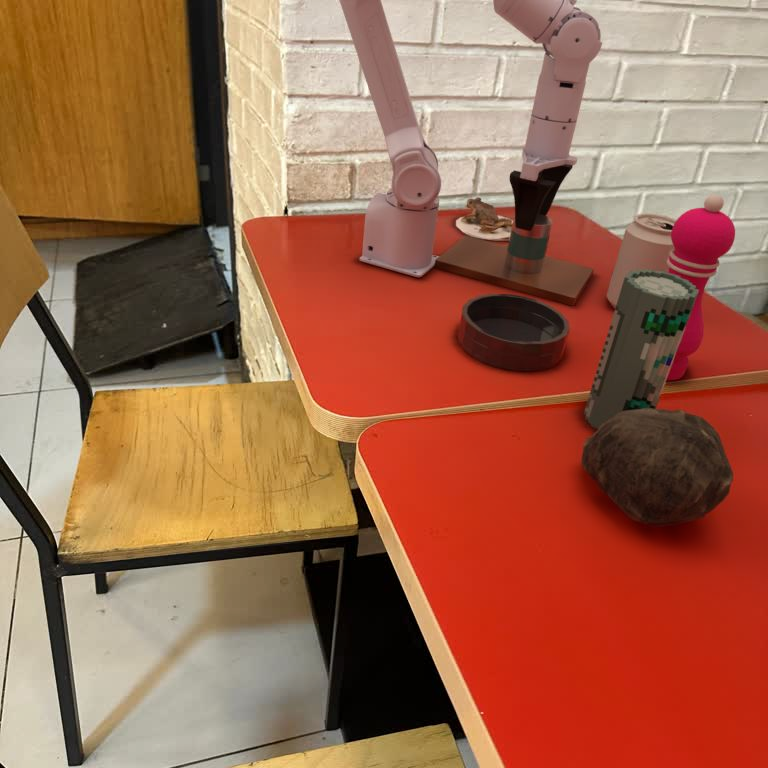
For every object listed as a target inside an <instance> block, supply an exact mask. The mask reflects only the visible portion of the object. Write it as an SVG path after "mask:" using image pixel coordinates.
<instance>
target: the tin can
mask: <svg viewBox="0 0 768 768" xmlns="http://www.w3.org/2000/svg"><path fill="white" fill-rule="evenodd" d="M553 222H554V221H553V219H552V218H550V217H549V216H548V215H546V216H545V215H542V214H538V216H537V219H536V222H535V224H534V226H533V228H532V230H531V231H527V230H523V229H519V228H516V226H515V214H514V216H513V225H512V228H511V233H510V238H509V240H508V243H507V246H508V248H507V255H506V260H505V265H506V266H507V267H508V268H510V269H511V270H514V271H517V272H521V273H538V272H540V271H541V270H542V265H543V261H544V257H545V256H546V255H547V249H548V244H549V241H550V236H551V231H552V226H553Z"/></svg>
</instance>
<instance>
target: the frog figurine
mask: <svg viewBox="0 0 768 768" xmlns="http://www.w3.org/2000/svg"><path fill="white" fill-rule="evenodd" d="M466 208H468V209H470V210H471V211H472V212H471V213H469V214H465V215H464V216H463V215H462V216H460V217H458V218H457V219H456V220H455V227H456V228H457V229H459V230H460V232H462V233H463V234H464V235H465V236H469V237H473V238H477V239H481V240H486V241H494V242H507V241H508V242H509V238H510V233H511V228H512V225H513V220H514V218H511V217H507V216H504V215H498V213H497V210H496V208H495V207H494V205H492V204H490V203H487V202H484V201H482V198H481V197H479V196H478V197H476V198H468V199H467V200H466Z"/></svg>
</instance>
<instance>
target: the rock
mask: <svg viewBox="0 0 768 768" xmlns="http://www.w3.org/2000/svg"><path fill="white" fill-rule="evenodd" d="M582 445H583V446H582V453H581V466H582V468H583V469H584V470H585V472H586V473H587V475H588V476H589V477H591V478H592V479H593V480H594V481H596V483H597V486H598V487H599V488H600V489H601V490H602V492H603V493H604V494H605V495H606V496H607V497H609V498H610V500H612V502H613V503H614V504H616V506H617V507H618V508H619V509H620V510H621V511H622V512H623V514H625V516H628V517H629V518H630V519H631V520H633V521H635V522H637V523H641V524H644V525H647V526H651V527H665V526H672V525H678V524H683V523H689V522H693V521H696V520H699V519H701V518H702V519H704V517H705V516H706V514H708V513H710V512H712V511H713V510H714V509H716V508H717V507H718V506H719V505H720V504H721V503H722V502H723V501H725V499H726V498H727V496H729V494H730V490H731V485H732V482H733V481H734V472H733V469H732V466H731V464H730V461H729V459H728V456H727V454H726V451H725V448H724V445H723V441H722V439H721V436H720V434H719V433H718V431H717V430H716V429H715V427H714V426H713V425H711V424H710V423H709V422H708V421H707V420H706V419H705V418H703V416H700V415H696V414H691V413H688V412H686V411H685V410H682V409H678V410H670V409H669V410H668V409H662V408H656V409H653V408H642V409H636V410H627V411H622V412H619V413H618V414H616V415H614V417H613V418H611V419H609V420H608V421H607V422H605V423H603V424H602V425H601V426H600V427H599V429H596V431H595V432H594V433H593V434H592V435H591V436H588V437H587V438H586V439H585V441H584V443H583V444H582Z"/></svg>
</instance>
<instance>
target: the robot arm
mask: <svg viewBox="0 0 768 768" xmlns="http://www.w3.org/2000/svg"><path fill="white" fill-rule="evenodd" d="M338 1H339V4H340V7H341V10H342V13H343V16H344V18H345V21H346V24H347V28H348V31H349V34H350V37H351V40H352V43H353V45H354V48H355V53H356V54H357V58H358V60H359V64H360V67H361V69H362V73H363V76H364V79H365V82H366V85H367V88H368V91H369V94H370V97H371V100H372V103H373V106H374V109H375V112H376V115H377V117H378V118H377V119H378V121H379V124H380V127H381V131H382V134H383V137H384V140H385V144H386V149H387V154H388V157H389V161H390V164H391V169H392V177H391V188H390V190H388V191H387V192H386V193H380V192H379V193H376V194H374V195H373V196H372V198H371V199H370V200H369V202H368V205H367V208H366V212H365V217H364V227H363V228H364V229H363V240H362V251H361V256H359V262H361V263H362V262H363V263H365V264H368V265H372V266H375V267H379V268H383V269H387V270H390V271H394V272H396V273H397V272H398V273H401V274H405V275H408V276H411V277H415V278H421V277H423V276H424V275H426V274H427V273H428V272H429V271H430V270H431V269H433V268H434V265H435V260H436V259H437V258H438V257H439V256H440V255H436V254H433V251H434V245H435V239H436V238H435V236H436V229H437V223H438V214H439V207H440V198H439V194H440V192H441V189H442V178H441V175H440V172H439V160H438V157H437V155H436V153H435V151H434V150H433V149H432V148H431V147H430V146H429V145H428V144H427V143H426V140H425V138H424V135H423V132H422V129H421V126H420V124H419V121H418V119H417V115H416V111H415V109H414V105H413V101H412V99H411V96H410V92H409V88H408V85H407V82H406V79H405V76H404V72H403V69H402V65H401V62H400V60H399V57H398V56H399V55H398V53H397V49H396V46H395V43H394V39H393V36H392V33H391V30H390V26H389V23H388V20H387V16H386V12H385V10H384V7H383V4H382V3H383V2H382V0H338ZM492 1H493V10H494V13H496V14H497V15H498V16H500V17H501V18H502V19H503V20H504V21H506V22H507V23H508V24H509V25H511V26H512V27H513V28H515V29H516V30H517V31H519V32H520V33H521V34H522V35H524V36H525V37H526V38H527V39H529V40H530V41H532V43H534V44H537V45H540V44H541V45H542V48H543V50H544V52H545V53H544V55H543V61H542V66H541V71H540V74H539V76H538V80H537V85H536V90H535V95H534V100H533V104H532V109H531V114H530V120H529V125H528V128H527V133H526V139H525V144H524V147H523V149H522V150H521V151H522V152H521V158H522V166H521V171H519V170H513V171H511V172H510V174H509V184H510V185H511V189H512V194H513V199H514V200H513V201H514V215H515V226H516V228H519V229H523V230H527V231H531V230H532V228H533V226H534V224H535V222H536V219H537V216H538V214H542V215H545V216H548V213H549V211H550V209H551V207H552V205H553V202H554V200H555V199H556V195H557V193H558V191H559V189H560V187H561V185H562V184H563V182H564V180H565V179H566V177H567V176H568V174H569V173H570V172H571V171H572V169H573V166H575V165H576V164H577V163H578V160H579V159H578V157H577V156H573V155H570V151H571V147H572V142H573V140H574V139H573V138H574V134H575V130H576V126H577V121H578V118H579V114H580V110H581V105H582V101H583V96H584V92H585V88H586V84H587V81H586V80H587V76H588V72H589V68H590V63H591V62H592V61H593V60H594V59H595V58H596V57H597V56H598V54H599V53H600V50H601V49H602V46H603V42H602V41H601V38H602V37H601V34H602V33H601V29H600V25H599V23H598V21H597V20H596V18H594V17H593V16H592V15H591V14H589V13H587V12H585V11H582V9H581V8H580V7H577V6H575V5H576V4H577V1H578V0H492Z"/></svg>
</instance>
